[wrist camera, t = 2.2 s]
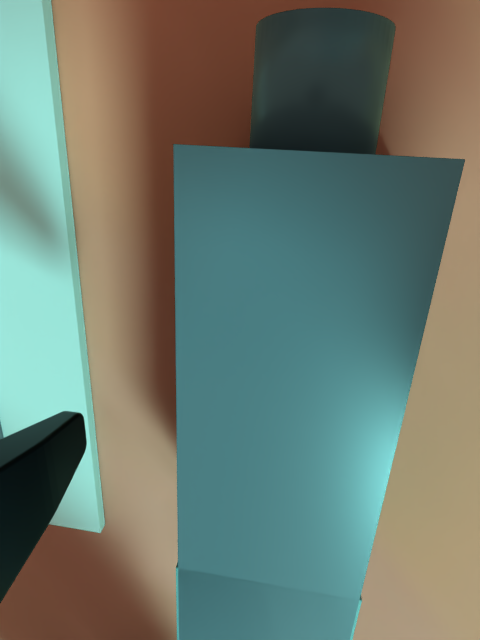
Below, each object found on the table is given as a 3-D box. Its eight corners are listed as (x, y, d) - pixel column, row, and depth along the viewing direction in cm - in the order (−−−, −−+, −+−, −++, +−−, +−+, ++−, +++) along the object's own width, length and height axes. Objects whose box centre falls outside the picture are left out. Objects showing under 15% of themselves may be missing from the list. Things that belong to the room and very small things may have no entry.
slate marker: (329, 520, 15) (340, 687, 10) (216, 502, 15) (177, 654, 10) (411, 63, 9) (514, -28, 5) (232, 58, 10) (167, -28, 5)
